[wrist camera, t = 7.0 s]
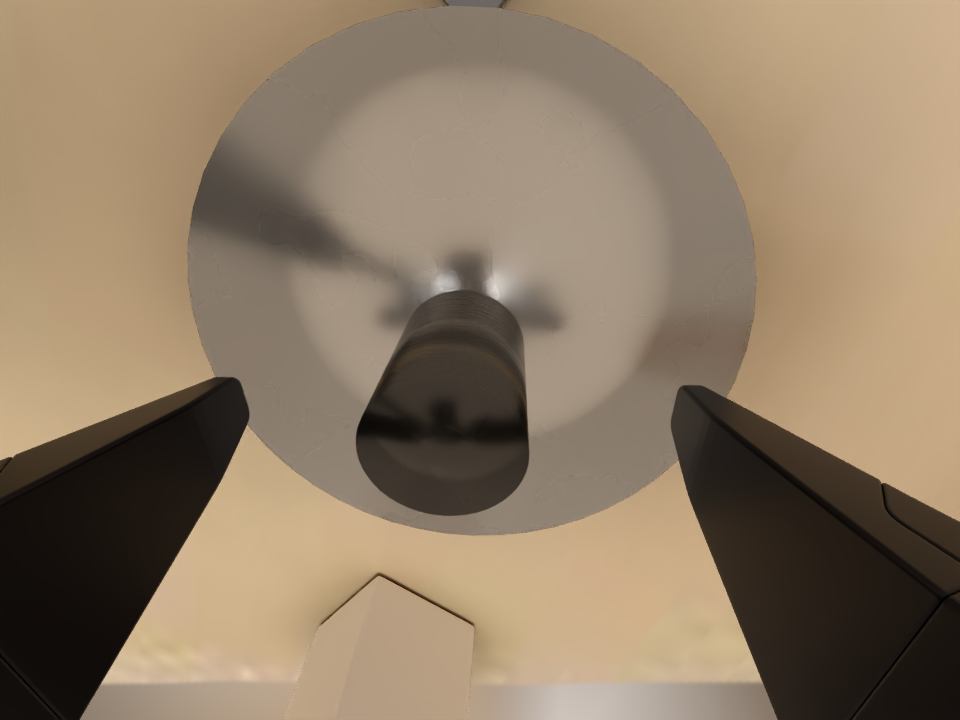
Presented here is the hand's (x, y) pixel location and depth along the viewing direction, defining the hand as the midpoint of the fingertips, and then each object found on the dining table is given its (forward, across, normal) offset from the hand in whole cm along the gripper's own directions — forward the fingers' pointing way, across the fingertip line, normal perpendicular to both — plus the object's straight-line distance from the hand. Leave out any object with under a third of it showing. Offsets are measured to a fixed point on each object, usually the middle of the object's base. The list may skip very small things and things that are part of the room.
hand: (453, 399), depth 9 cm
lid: (+3, 0, 0) cm, 3 cm away
